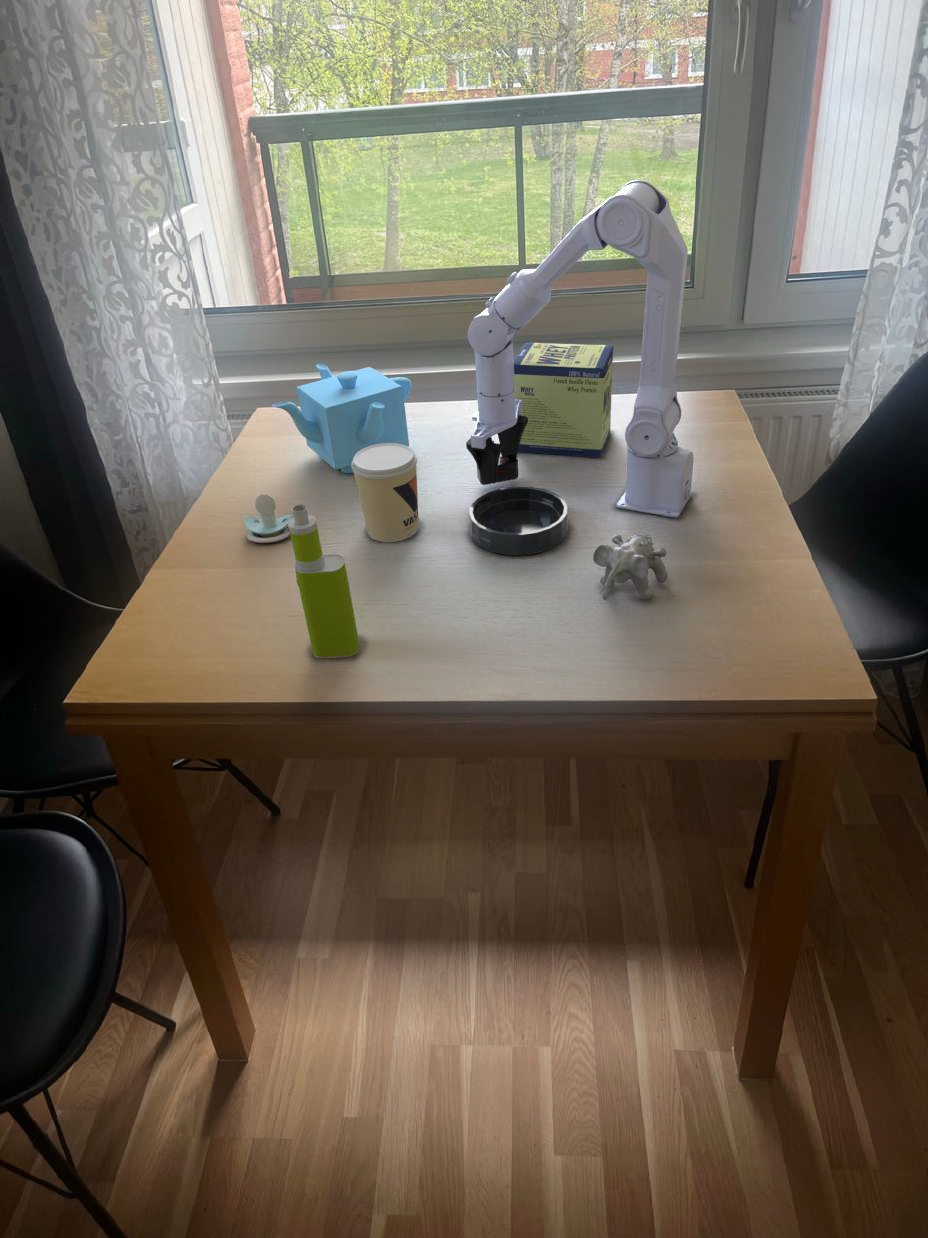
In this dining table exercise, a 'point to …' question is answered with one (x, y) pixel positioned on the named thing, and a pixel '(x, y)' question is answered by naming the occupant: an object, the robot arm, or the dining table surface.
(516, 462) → the wireless earbuds
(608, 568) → the gray elephant figurine
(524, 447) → the protein box
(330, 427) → the teakettle
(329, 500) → the dining table surface
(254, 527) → the pacifier
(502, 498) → the bowl
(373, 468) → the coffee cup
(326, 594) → the vape
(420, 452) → the dining table surface
